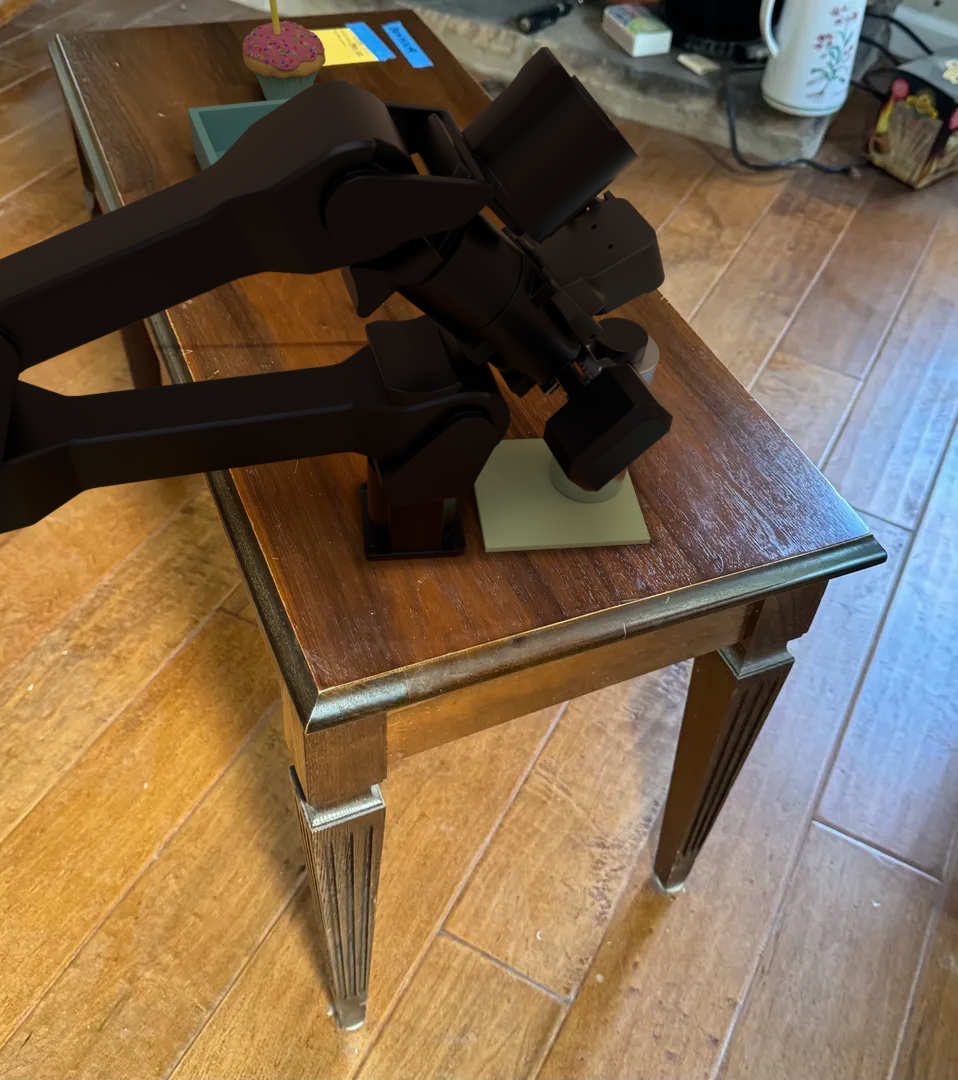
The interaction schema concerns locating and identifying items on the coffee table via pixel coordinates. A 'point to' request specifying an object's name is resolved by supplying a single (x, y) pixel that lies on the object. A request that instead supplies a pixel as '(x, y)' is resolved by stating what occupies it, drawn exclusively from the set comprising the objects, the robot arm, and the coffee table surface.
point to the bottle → (618, 346)
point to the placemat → (547, 506)
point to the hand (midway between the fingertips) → (620, 407)
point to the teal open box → (223, 127)
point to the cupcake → (283, 56)
